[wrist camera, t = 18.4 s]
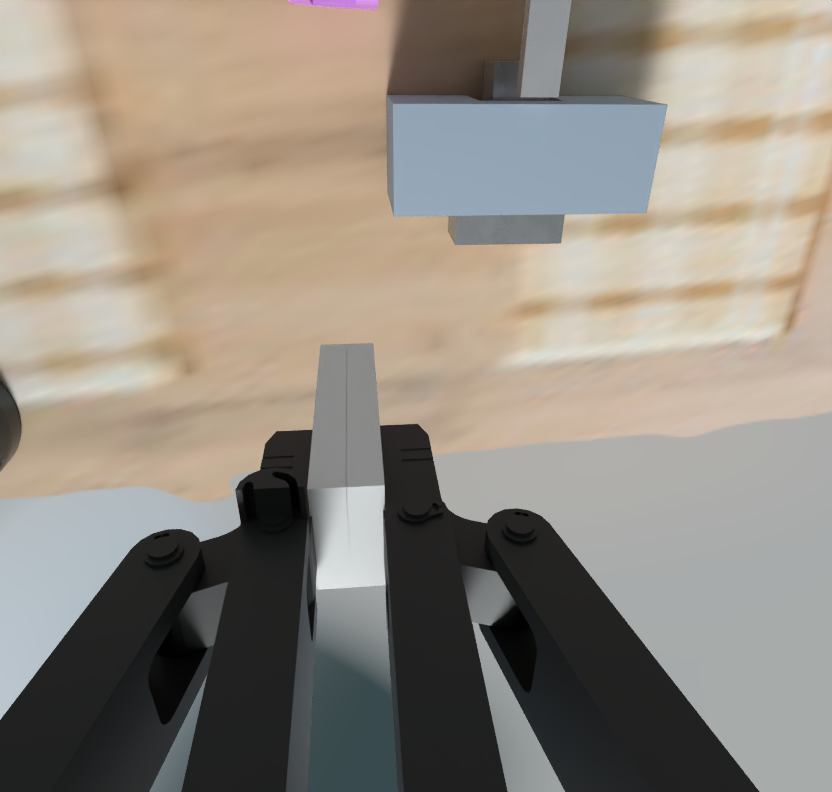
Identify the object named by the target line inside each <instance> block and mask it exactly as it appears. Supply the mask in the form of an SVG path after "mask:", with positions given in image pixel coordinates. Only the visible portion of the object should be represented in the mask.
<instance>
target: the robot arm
mask: <svg viewBox="0 0 832 792" xmlns="http://www.w3.org/2000/svg"><path fill="white" fill-rule="evenodd" d="M20 437H21V423H20V417H19V414H18V411H17V408H16V406H15V403H14V401H13V399H12V398H11V396H10V394H9V393H8V391H7V390H6V389H5V387H4V386H3V385H2V384H1V382H0V472H1V470H2V469H3V468H4V467H5V465H6V464H7V463H8V462H9V461H10V459H11V458H12V457H13V455H14V454H15V452H16V450H17V448H18V445H19V442H20ZM235 491H236V497H237V502H238V508H239V514H240V520H241V525H240V526H239V527H238V528H237V529H235V530H233V531H231V532H229V533H227V534H225V535H222V536H219V537H216V538H213V539H209V540H206V541H202V542H199V539H198V538H197V537H196V536H195V535H194V534H193V533H192V532H189V531H185V530H181V529H171V530H164V531H161V532H157V533H153V534H151V535H150V536H148V537H146V538H144V539H142V540H141V541H140V542H138V543H137V544H136V545H135V546H134V547H133V548H132V549H131V550H130V551H129V553H128V554H127V555H126V557H125V558H124V559H123V561H122V562H121V563H120V564H119V566H118V567H117V568H116V570H115V571H114V572H113V574H112V575H111V576H110V578H109V579H108V580H107V582H106V583H105V584H104V585H103V587H102V588H101V589H100V591H99V592H98V593H97V595H96V596H95V597H94V598H93V600H92V601H91V602H90V604H89V605H88V606H87V608H86V609H85V610H84V611H83V613H82V614H81V615H80V617H79V618H78V619H77V621H76V622H75V623H74V625H73V626H72V627H71V628H70V630H69V631H68V632H67V634H66V635H65V636H64V638H63V639H62V640H61V642H60V643H59V644H58V645H57V647H56V648H55V649H54V651H53V652H52V653H51V655H50V656H49V657H48V659H47V660H46V661H45V662H44V664H43V665H42V666H41V668H40V669H39V670H38V672H37V673H36V674H35V676H34V677H33V678H32V679H31V681H30V682H29V683H28V685H27V686H26V687H25V689H24V690H23V691H22V692H21V694H20V695H19V696H18V698H17V699H16V700H15V702H14V703H13V704H12V705H11V707H10V708H9V710H8V711H7V712H6V713H5V715H4V716H3V717H2V719H1V720H0V792H149V791H150V789H151V787H152V785H153V783H154V781H155V779H156V777H157V775H158V773H159V771H160V769H161V767H162V765H163V763H164V761H165V758H166V756H167V754H168V752H169V750H170V748H171V746H172V744H173V742H174V740H175V738H176V736H177V734H178V732H179V730H180V728H181V726H182V724H183V722H184V720H185V718H186V716H187V714H188V712H189V710H190V708H191V706H192V704H193V702H194V699H195V698H196V696H197V694H198V692H199V690H200V688H201V686H202V683H203V681H204V679H205V677H206V675H207V679H206V683H205V688H204V692H203V697H202V701H201V706H200V711H199V716H198V720H197V724H196V729H195V733H194V738H193V742H192V747H191V751H190V756H189V760H188V765H187V769H186V774H185V779H184V784H183V787H182V792H308V775H309V756H310V736H311V718H312V699H313V680H314V660H315V641H316V622H317V604H316V594H315V590H316V584H317V590H318V589H333V588H349V587H364V586H379V585H386V624H387V630H388V643H389V658H390V675H391V690H392V706H393V723H394V738H395V753H396V768H397V769H396V770H397V786H398V792H507V787H506V783H505V778H504V773H503V768H502V763H501V759H500V754H499V749H498V744H497V740H496V736H495V730H494V725H493V721H492V716H491V711H490V706H489V702H488V697H487V692H486V687H485V682H484V678H483V673H482V668H481V663H480V658H479V654H478V649H477V644H476V639H475V635H474V630H473V625H472V622H475V623H479V626H480V630H481V632H482V634H483V636H484V638H485V640H486V641H487V643H488V645H489V647H490V649H491V651H492V653H493V655H494V657H495V658H496V660H497V662H498V664H499V666H500V668H501V670H502V672H503V674H504V676H505V678H506V680H507V681H508V683H509V685H510V687H511V689H512V691H513V693H514V695H515V697H516V699H517V701H518V702H519V704H520V706H521V708H522V710H523V712H524V714H525V716H526V718H527V720H528V722H529V723H530V725H531V727H532V729H533V731H534V733H535V735H536V737H537V739H538V741H539V743H540V744H541V746H542V748H543V750H544V752H545V754H546V756H547V758H548V760H549V762H550V764H551V765H552V767H553V769H554V771H555V773H556V775H557V777H558V779H559V781H560V782H561V785H562V786H563V788H564V790H565V792H759V791H758V789H757V788H756V787H755V786H754V784H753V783H752V782H751V780H750V779H749V778H748V777H747V775H746V774H745V773H744V771H743V770H742V769H741V768H740V766H739V765H738V764H737V763H736V761H735V760H734V759H733V757H732V756H731V755H730V754H729V752H728V751H727V750H726V749H725V747H724V746H723V745H722V743H721V742H720V741H719V739H718V738H717V737H716V736H715V735H714V733H713V732H712V731H711V729H710V728H709V727H708V726H707V724H706V723H705V722H704V720H703V719H702V718H701V716H699V714H698V713H697V711H696V710H695V709H694V708H693V706H692V705H691V704H690V702H689V701H688V700H687V699H686V697H685V696H684V695H683V694H682V692H681V691H680V690H679V688H678V687H677V686H676V685H675V683H674V682H673V681H672V679H671V678H670V677H669V676H668V675H667V673H666V672H665V671H664V669H663V668H662V667H661V666H660V664H659V663H658V662H657V660H656V659H655V658H654V657H653V655H652V654H651V653H650V651H649V650H648V649H647V648H646V646H645V645H644V644H643V642H642V641H641V640H640V639H639V637H638V636H637V635H636V634H635V633H634V631H633V630H632V629H631V627H630V626H629V625H628V623H627V622H626V621H625V619H624V618H623V617H622V616H621V614H620V613H619V612H618V610H617V609H616V608H615V607H614V605H613V604H612V603H611V602H610V600H609V599H608V598H607V596H606V595H605V594H604V593H603V592H602V590H601V589H600V587H599V586H598V585H597V584H596V583H595V581H594V580H593V579H592V577H591V576H590V575H589V573H588V572H587V571H586V570H585V568H584V567H583V566H582V565H581V563H580V562H579V561H578V559H577V558H576V557H575V556H574V554H573V553H572V552H571V550H570V549H569V548H568V547H567V545H566V544H565V543H564V542H563V540H562V539H561V538H560V536H559V535H558V534H557V533H556V531H555V530H554V529H553V528H552V526H551V525H550V524H549V523H548V522H547V521H546V520H545V519H544V518H543V517H542V516H540V515H538V514H536V513H533V512H531V511H528V510H523V509H505V510H502V511H500V512H497V513H495V514H494V515H493V516H492V517H491V518H490V519H489V520H488V523H482V522H476V521H471V520H467V519H464V518H461V517H459V516H457V515H455V514H454V513H452V512H451V511H449V510H448V509H447V507H446V505H445V503H444V502H443V501H442V499H441V495H440V490H439V486H438V480H437V476H436V471H435V466H434V461H433V456H432V451H431V446H430V441H429V436H428V434H427V433H426V432H425V431H424V430H423V429H422V428H421V427H420V426H419V425H418V424H407V425H383V426H380V422H379V410H378V397H377V385H376V373H375V360H374V348H373V343H367V344H334V345H321V346H320V357H319V367H318V378H317V389H316V399H315V410H314V421H313V430H299V431H276V433H275V434H274V435H273V436H272V437H271V438H270V439H269V440H268V441H267V443H266V444H265V449H264V454H263V460H262V463H261V470H259V471H257V472H254V473H252V474H250V475H248V476H247V477H245V478H244V479H243V480H242V481H240V483H239V484H238V486H237V488H236V490H235ZM207 673H208V674H207Z"/></svg>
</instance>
